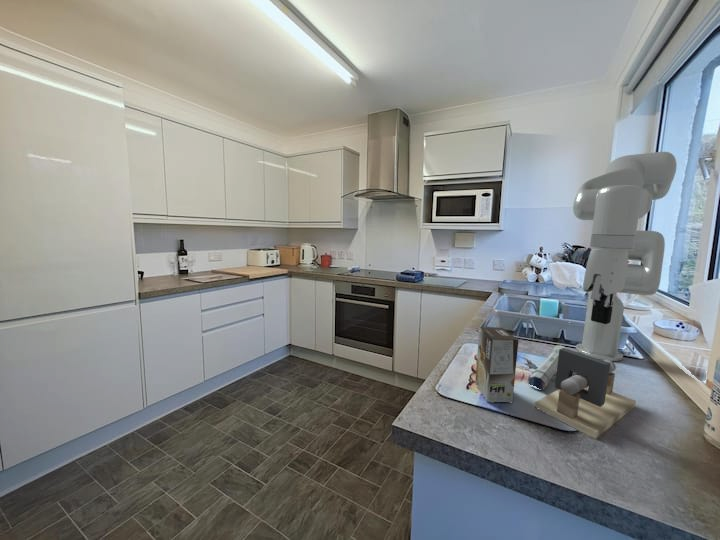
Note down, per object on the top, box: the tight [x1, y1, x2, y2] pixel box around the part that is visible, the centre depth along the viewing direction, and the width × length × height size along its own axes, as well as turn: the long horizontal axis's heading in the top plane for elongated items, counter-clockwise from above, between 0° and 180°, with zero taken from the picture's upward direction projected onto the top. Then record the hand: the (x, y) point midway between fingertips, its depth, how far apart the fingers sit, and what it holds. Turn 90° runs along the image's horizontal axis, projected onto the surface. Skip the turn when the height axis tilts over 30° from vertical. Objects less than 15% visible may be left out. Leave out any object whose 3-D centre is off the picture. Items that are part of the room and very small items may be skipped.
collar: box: [554, 347, 610, 407], centre depth 66 cm, size 2×9×10 cm, turn 32°
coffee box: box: [474, 326, 519, 403], centre depth 74 cm, size 9×6×16 cm
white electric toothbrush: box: [528, 345, 567, 391], centre depth 86 cm, size 5×7×25 cm
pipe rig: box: [534, 360, 637, 440], centre depth 70 cm, size 22×12×10 cm, turn 122°
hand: (600, 321), depth 69 cm, fingers closed
